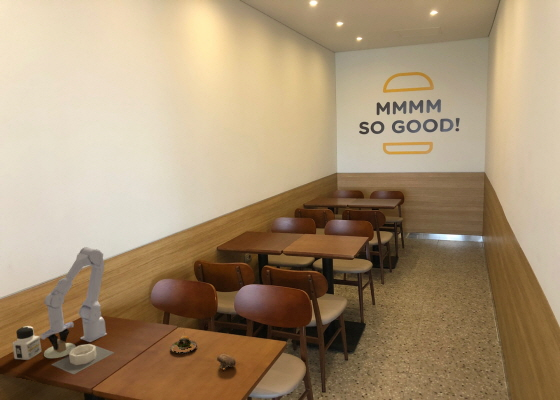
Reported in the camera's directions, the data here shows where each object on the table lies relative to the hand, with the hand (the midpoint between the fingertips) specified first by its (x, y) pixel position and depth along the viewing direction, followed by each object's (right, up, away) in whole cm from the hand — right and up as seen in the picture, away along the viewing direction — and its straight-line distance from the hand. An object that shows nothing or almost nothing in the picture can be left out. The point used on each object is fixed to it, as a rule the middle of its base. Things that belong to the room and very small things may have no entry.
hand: (59, 347), depth 196 cm
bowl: (+14, -2, -7) cm, 16 cm away
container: (-13, -3, -2) cm, 14 cm away
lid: (0, -2, 0) cm, 2 cm away
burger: (+57, -1, -1) cm, 57 cm away
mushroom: (+78, -3, -17) cm, 80 cm away
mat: (+14, -3, -7) cm, 16 cm away
